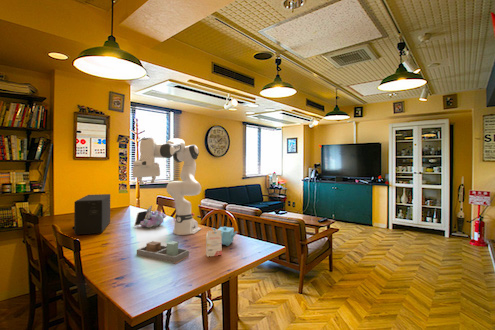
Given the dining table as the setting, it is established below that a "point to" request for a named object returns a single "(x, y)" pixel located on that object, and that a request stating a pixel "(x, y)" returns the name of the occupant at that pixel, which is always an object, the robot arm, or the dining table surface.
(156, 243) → the walnut block
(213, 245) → the ink cartridge box
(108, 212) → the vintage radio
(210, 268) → the dining table surface
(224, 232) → the teapot
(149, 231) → the dining table surface
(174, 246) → the slate block
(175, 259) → the tray
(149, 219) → the purple rock
